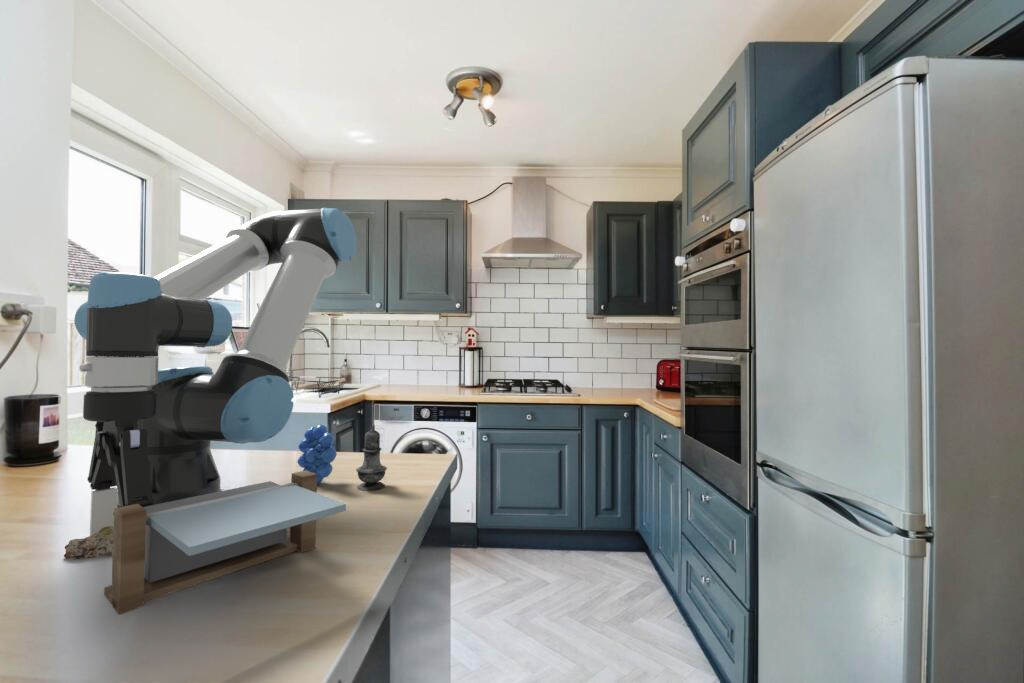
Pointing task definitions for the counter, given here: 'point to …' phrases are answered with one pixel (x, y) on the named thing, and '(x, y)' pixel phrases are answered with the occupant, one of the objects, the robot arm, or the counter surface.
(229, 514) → the trapdoor
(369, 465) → the salt shaker
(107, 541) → the mineral rock
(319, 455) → the grapes
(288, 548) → the frame
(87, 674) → the counter surface
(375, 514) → the counter surface
